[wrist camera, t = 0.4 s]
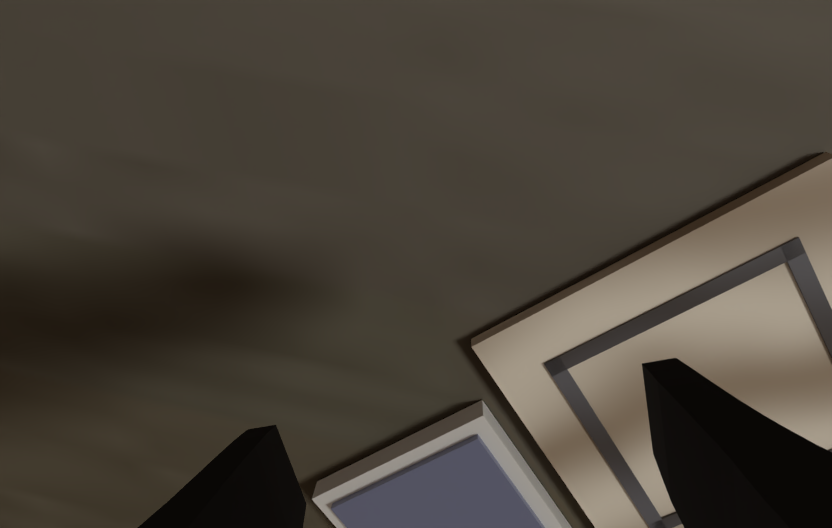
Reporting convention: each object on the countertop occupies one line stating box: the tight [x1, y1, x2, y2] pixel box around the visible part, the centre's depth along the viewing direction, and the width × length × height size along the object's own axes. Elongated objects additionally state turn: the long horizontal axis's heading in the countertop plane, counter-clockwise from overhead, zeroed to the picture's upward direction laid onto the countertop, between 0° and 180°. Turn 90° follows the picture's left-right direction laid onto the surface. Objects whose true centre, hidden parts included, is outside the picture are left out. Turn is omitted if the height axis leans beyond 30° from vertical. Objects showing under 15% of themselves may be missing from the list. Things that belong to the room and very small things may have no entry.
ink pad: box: [312, 400, 572, 528], centre depth 25 cm, size 8×8×1 cm
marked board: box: [471, 152, 832, 528], centre depth 22 cm, size 13×13×1 cm
